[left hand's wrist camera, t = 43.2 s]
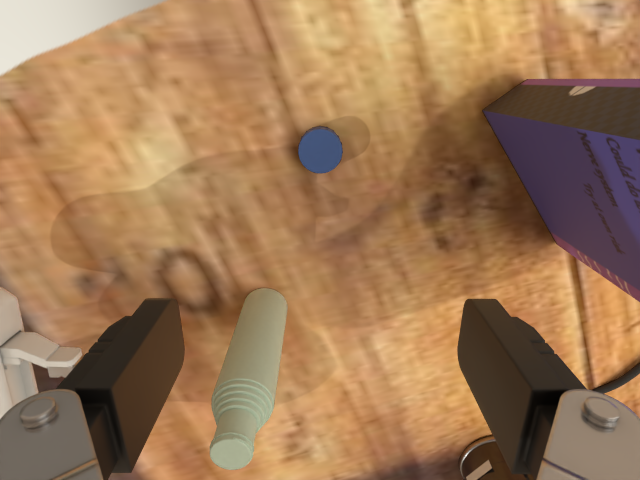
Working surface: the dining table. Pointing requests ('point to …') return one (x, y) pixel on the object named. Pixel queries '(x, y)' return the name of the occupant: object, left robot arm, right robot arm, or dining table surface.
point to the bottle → (248, 378)
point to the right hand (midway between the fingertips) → (87, 412)
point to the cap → (320, 150)
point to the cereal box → (580, 166)
